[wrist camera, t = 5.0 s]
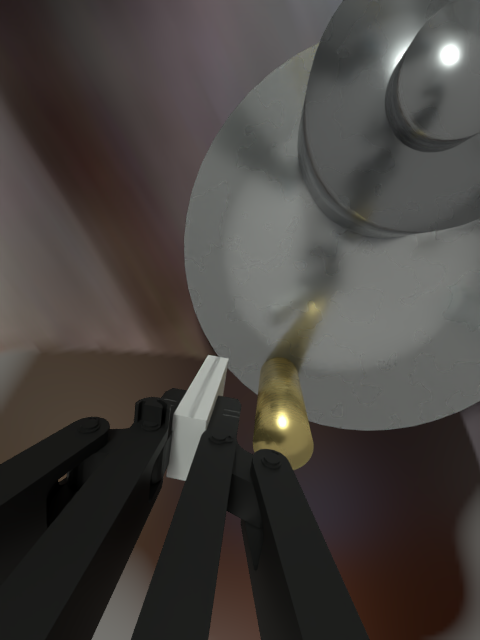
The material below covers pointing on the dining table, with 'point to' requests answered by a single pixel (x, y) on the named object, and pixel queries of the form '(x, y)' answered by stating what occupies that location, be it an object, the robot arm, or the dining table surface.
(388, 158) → the cover
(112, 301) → the dining table surface
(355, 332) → the turntable
